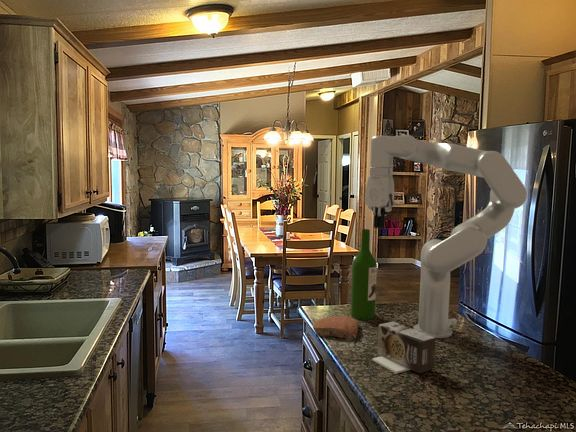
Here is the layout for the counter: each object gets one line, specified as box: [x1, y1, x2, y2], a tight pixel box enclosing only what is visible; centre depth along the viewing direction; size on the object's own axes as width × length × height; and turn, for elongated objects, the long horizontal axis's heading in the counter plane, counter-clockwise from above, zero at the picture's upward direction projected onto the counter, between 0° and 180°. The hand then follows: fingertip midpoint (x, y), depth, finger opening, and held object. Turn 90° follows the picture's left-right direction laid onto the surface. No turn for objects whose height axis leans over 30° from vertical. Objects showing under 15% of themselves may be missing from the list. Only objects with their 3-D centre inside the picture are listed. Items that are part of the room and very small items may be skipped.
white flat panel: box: [372, 355, 412, 374], centre depth 138 cm, size 12×10×1 cm
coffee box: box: [377, 321, 437, 374], centre depth 138 cm, size 9×6×16 cm
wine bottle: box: [350, 228, 378, 321], centre depth 180 cm, size 9×9×32 cm
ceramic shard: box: [312, 315, 359, 341], centre depth 164 cm, size 15×6×15 cm
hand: (378, 227), depth 164 cm, fingers closed
